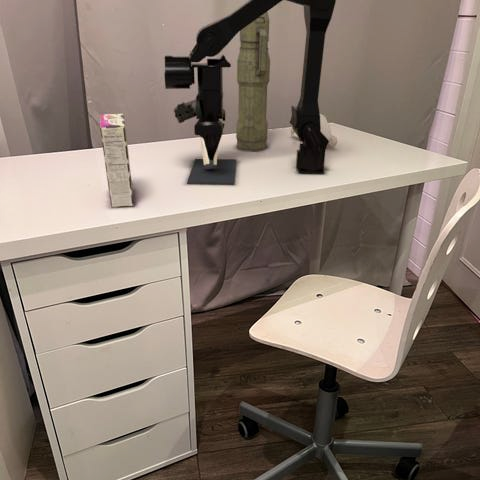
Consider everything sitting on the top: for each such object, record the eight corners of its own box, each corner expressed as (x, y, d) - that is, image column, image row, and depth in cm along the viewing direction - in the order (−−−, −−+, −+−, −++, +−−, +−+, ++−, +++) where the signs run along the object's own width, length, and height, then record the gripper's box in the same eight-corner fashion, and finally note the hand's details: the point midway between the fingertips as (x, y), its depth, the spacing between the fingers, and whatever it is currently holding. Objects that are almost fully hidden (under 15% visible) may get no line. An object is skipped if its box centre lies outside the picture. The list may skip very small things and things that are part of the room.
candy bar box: (109, 191, 116) (99, 113, 107) (132, 190, 117) (124, 113, 108) (109, 208, 107) (99, 125, 98) (134, 207, 108) (125, 124, 99)
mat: (236, 161, 138) (236, 159, 137) (234, 185, 121) (234, 182, 121) (195, 160, 138) (195, 158, 138) (187, 184, 121) (187, 181, 121)
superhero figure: (282, 141, 161) (320, 149, 145) (283, 109, 157) (322, 114, 141) (310, 138, 165) (350, 146, 149) (311, 107, 161) (352, 112, 145)
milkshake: (226, 167, 129) (225, 125, 124) (210, 171, 126) (209, 128, 121) (213, 164, 132) (212, 122, 127) (197, 167, 129) (196, 125, 124)
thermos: (249, 154, 144) (252, 7, 125) (228, 144, 153) (228, 5, 134) (275, 150, 148) (282, 7, 129) (253, 141, 157) (257, 6, 138)
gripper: (180, 82, 127) (183, 147, 135) (169, 95, 111) (174, 167, 120) (225, 82, 127) (225, 148, 135) (221, 95, 111) (222, 168, 120)
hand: (211, 157), depth 127 cm, fingers closed on milkshake, 4 cm apart
